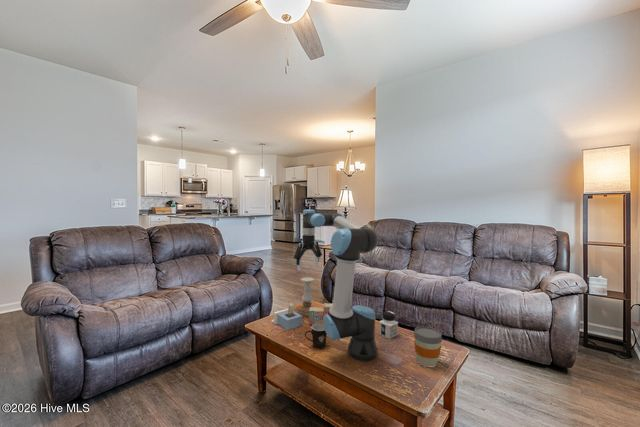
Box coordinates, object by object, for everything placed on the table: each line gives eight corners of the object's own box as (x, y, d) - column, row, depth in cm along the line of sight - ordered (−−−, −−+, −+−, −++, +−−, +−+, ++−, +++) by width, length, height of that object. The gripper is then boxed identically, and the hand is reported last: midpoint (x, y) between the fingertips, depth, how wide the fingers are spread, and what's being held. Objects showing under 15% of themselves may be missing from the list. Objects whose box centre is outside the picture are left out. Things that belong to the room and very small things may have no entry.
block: (302, 325, 173) (302, 315, 173) (287, 330, 166) (287, 320, 166) (292, 319, 181) (292, 310, 181) (277, 323, 174) (277, 314, 174)
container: (389, 339, 158) (390, 316, 157) (378, 334, 164) (379, 312, 163) (397, 335, 163) (398, 313, 162) (386, 330, 169) (387, 309, 168)
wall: (294, 318, 182) (294, 308, 182) (275, 324, 173) (275, 313, 173) (289, 316, 186) (289, 305, 186) (271, 321, 177) (271, 310, 177)
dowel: (293, 323, 174) (294, 301, 173) (289, 324, 172) (290, 302, 171) (290, 321, 176) (292, 299, 175) (286, 322, 174) (287, 300, 173)
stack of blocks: (308, 325, 173) (308, 305, 173) (309, 321, 180) (310, 302, 179) (343, 327, 172) (343, 307, 171) (343, 323, 178) (343, 303, 178)
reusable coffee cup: (408, 363, 135) (409, 332, 134) (418, 352, 144) (419, 323, 144) (435, 373, 127) (437, 341, 126) (444, 361, 136) (445, 331, 136)
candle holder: (309, 318, 184) (310, 282, 183) (295, 314, 190) (296, 279, 189) (317, 312, 194) (318, 278, 193) (304, 309, 199) (305, 275, 198)
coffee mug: (327, 342, 153) (328, 324, 152) (326, 350, 144) (327, 331, 144) (306, 340, 154) (307, 322, 154) (304, 348, 145) (304, 329, 145)
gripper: (320, 232, 184) (319, 265, 185) (288, 235, 168) (287, 270, 169) (327, 234, 178) (327, 267, 179) (295, 236, 162) (294, 272, 163)
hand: (307, 268), depth 174 cm, fingers open, 13 cm apart
